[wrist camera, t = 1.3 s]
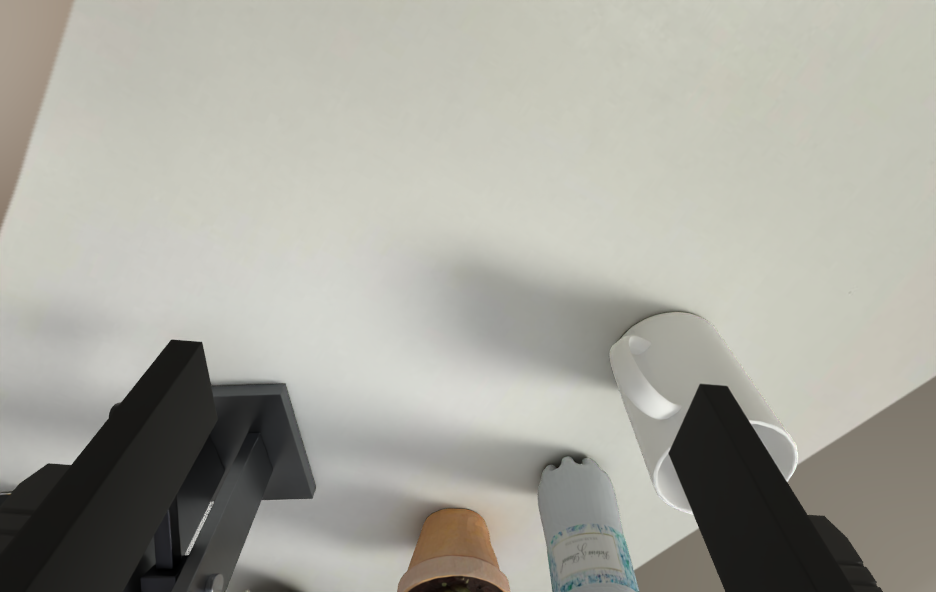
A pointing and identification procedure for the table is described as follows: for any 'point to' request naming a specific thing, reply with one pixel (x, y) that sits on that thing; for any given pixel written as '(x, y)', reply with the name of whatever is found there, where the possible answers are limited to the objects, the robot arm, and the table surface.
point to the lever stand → (235, 483)
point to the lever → (164, 551)
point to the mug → (685, 392)
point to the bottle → (583, 530)
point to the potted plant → (454, 556)
